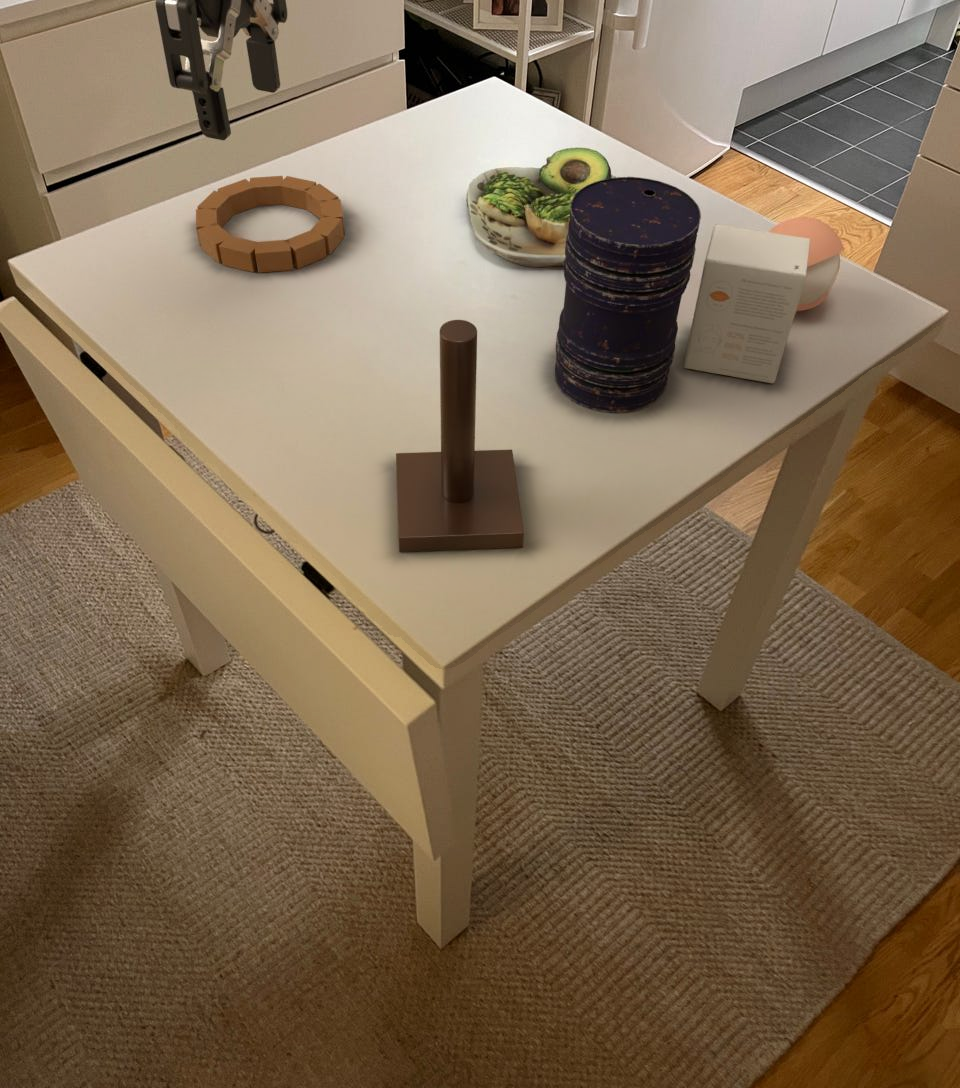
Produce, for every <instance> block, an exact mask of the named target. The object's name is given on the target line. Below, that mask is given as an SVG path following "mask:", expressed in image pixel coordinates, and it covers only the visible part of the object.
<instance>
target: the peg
mask: <svg viewBox="0 0 960 1088" xmlns="http://www.w3.org/2000/svg"><path fill="white" fill-rule="evenodd" d="M477 361H478V329H477V327H476V325H475V324H473V323H472V322H470V321H468V320H465V319H451V320H448V321H446V322H444V323H442V325H441V326H440V327H439V397H440V398H439V399H440V400H439V402H440V403H439V404H440V407H439V408H440V451H422V452H419V451H418V452H396V453H395V466H396V467H395V469H396V470H395V471H396V499H397V501H396V502H397V505H396V506H397V532H398V533H397V535H398V552H400V553H406V552H407V553H408V552H409V553H410V552H434V551H459V550H460V551H461V550H481V549H482V550H484V549H512V548H523V547H524V533H525V532H524V526H523V519H522V518H523V517H522V511H521V505H520V504H521V503H520V497H519V496H520V495H519V490H518V483H517V475H516V467H515V461H514V452H513V449H485V450H484V449H483V450H482V449H481V450H476V414H477V413H476V411H477V410H476V405H477V367H478V366H477V365H478V364H477Z"/></svg>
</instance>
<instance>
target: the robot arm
mask: <svg viewBox="0 0 960 1088" xmlns="http://www.w3.org/2000/svg"><path fill="white" fill-rule="evenodd" d="M287 6H288V5H287V1H286V0H272V2H269V0H155V9H156V16H157V20H158V27H159V31H160V32H159V33H160V36H161V42H162V47H163V48H162V49H163V52H164V59H165V63H166V67H167V69H166V70H167V75H168V80H169V84H170V86H171V87H172V88H174V89H179V90H186V91H191V93H192V97H193V101H194V105H195V111H196V115H197V119H198V120H197V121H198V124H199V125H198V126H199V128H200V131H201V132H202V134H203V136H204V137H206V138H209V139H213V140H219V141H226V140H227V139H228V138H229V137H230V136H231V134H232V130H231V129H232V128H231V124H230V119H229V113H228V107H227V101H226V95H225V91H224V87H222V79H223V73H224V65H225V61H226V60H228V59H229V58H230V57H231V56H232V51H233V44H234V38H235V37H236V36H237V35H238V33H239V32H240V30H242V31H243V32H244V34H245V35H246V36H247V37H249V38H247V39H246V40H245V44H246V51H247V57H248V63H249V70H250V76H251V83H252V86H253V87H254V89H255V90H257V91H261V92H266V93H272V94H273V93H276V92H277V91H278V90H279V89H280V88H281V79H280V71H279V64H278V63H279V62H278V56H277V50H276V49H277V47H276V41H277V40H278V37H279V34H280V33H279V24H280V23H281V24H285V23H286V22H287V20H288V7H287ZM200 30H201V31H202V32H203V33H204V34H205V35H207V36H208V37H213V38H216V39H215V40H208V39H203V38H201V32H200ZM204 55H206V56H209V62H208V70H207V69H206V64H205V57H204ZM182 57H185V62H184V69H183V64H182Z"/></svg>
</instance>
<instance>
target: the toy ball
mask: <svg viewBox="0 0 960 1088" xmlns="http://www.w3.org/2000/svg"><path fill="white" fill-rule="evenodd" d="M768 232H770V233H776V234H782V235H789V236H795V237H802V238H810V248H809V256H808V264H807V273H806V279H805V283H804V286H803V290H802V293H801V296H800V300H799V303H798V306H797V310H796V312H801V311H806V310H811V309H813V308H815V307H817V306H819V305H820V304H821V303H822V302H824V301H825V299H826V298H827V297H828V295H829V293H830V292H831V290H832V287H833V286H834V284H835V282H836V280H837V278H838V276H839V272H840V266H841V256H840V254H841V253H842V252H843V251H844V250H845V247H844V244H843V242H842V239H841V238H840V236H839V234H838V233H837V232H836V231H835V229H834V228H833V227H832V226H830V224H828V223H826V222H824V221H823V220H821V219H818V218H814V217H808V216H800V217H799V216H798V217H793V218H789V219H786V220H784V221H782V222H780V223H778V224H776V225H775V226H774V227H772V228H771V229H770V230H769V231H768Z"/></svg>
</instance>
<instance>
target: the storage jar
mask: <svg viewBox="0 0 960 1088" xmlns="http://www.w3.org/2000/svg"><path fill="white" fill-rule="evenodd" d="M701 220H702V212H701V209H700V206H699V204H698V203H697V202H696V200H695V199H693V198H692V197H691V195H689V194H688V193H686V192H685V191H684V190H682V189H680V188H678V187H677V186H675V185H671V184H669V183H668V182H667V183H666V182H663V181H660V180H657V179H652V178H647V177H646V178H645V177H637V176H616V178H609V179H604V180H600V181H596V182H593V183H591V184H589V185H587V186H585V187H583V188H582V189H580V190H579V191H578V192H577V193H576V194H575V196H574V197H573V198H572V201H571V206H570V221H569V227H568V233H567V236H566V245H565V256H566V257H565V260H564V266H562V267H563V276H564V281H565V290H564V299H563V307H562V310H561V311H560V314H559V320H558V329H557V332H556V337H555V338H556V339H555V364H554V374H553V375H554V380H555V383H556V386H557V387H558V388H559V390H560V392H561V393H563V395H564V396H565V397H566V398H568V399H570V400H571V401H572V402H574V403H575V404H578V405H579V406H582V407H583V408H586V409H590V410H594V411H596V412H602V413H613V414H619V413H620V414H621V413H630V412H631V413H632V412H635V411H639V410H642V409H646V408H647V407H649V406H651V405H652V404H655V402H657V401H658V400H659V399H660V398H661V397H662V396H663V395H664V393H665V391H666V388H667V383H668V378H669V376H668V375H669V373H670V370H671V369H670V368H671V366H672V364H673V361H674V356H675V351H676V340H677V335H678V330H679V327H678V324H679V323H678V316H679V311H680V306H681V301H682V297H683V294H684V293H685V292H686V290H687V287H688V284H689V282H690V278H691V270H692V268H693V264H694V259H695V254H696V244H697V238H698V232H699V229H700V224H701Z"/></svg>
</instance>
